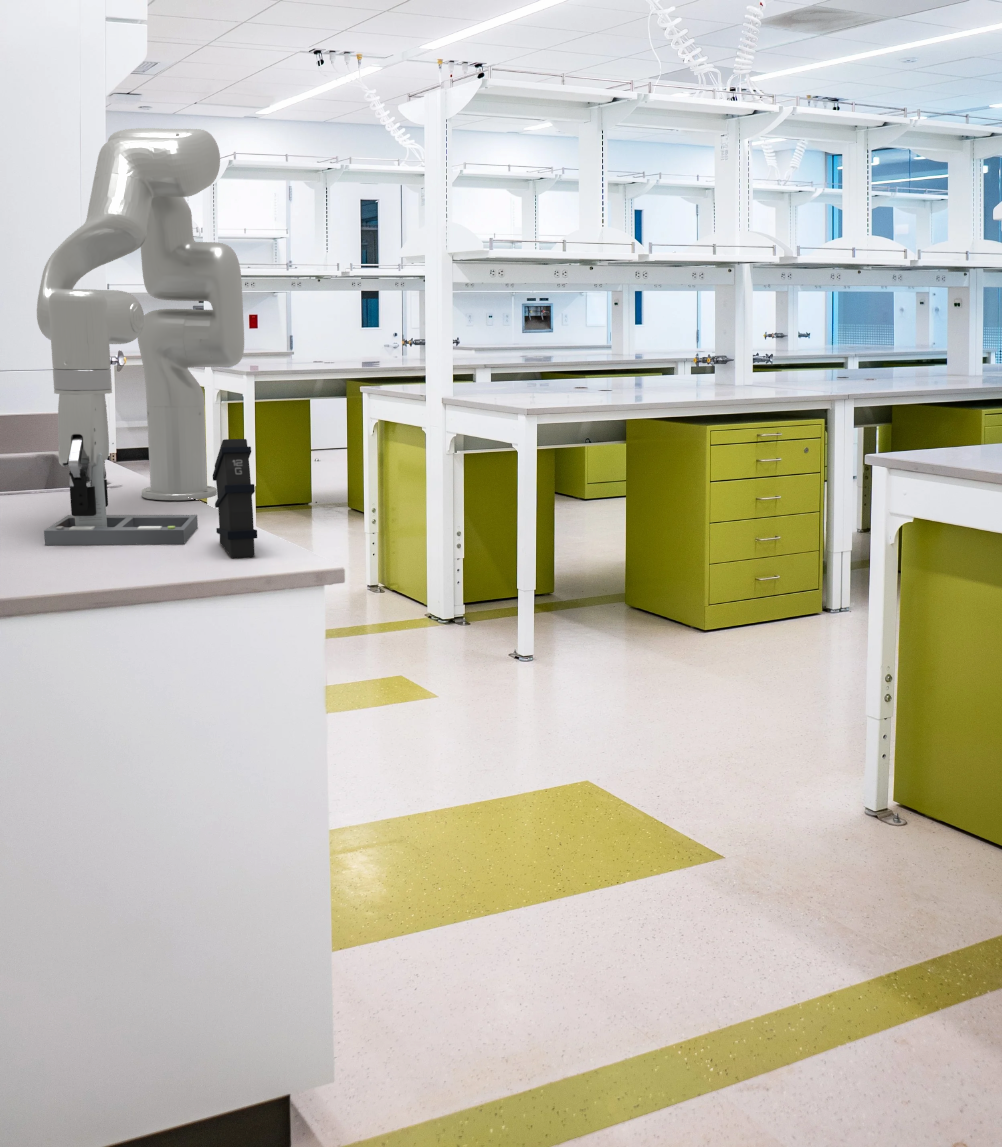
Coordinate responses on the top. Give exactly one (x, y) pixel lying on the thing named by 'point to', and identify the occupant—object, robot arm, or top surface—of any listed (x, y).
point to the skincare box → (98, 483)
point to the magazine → (235, 498)
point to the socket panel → (124, 531)
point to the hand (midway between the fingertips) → (90, 510)
